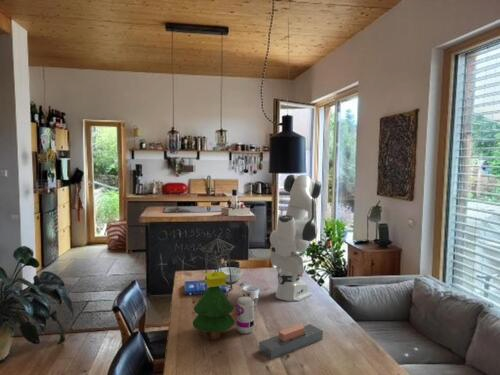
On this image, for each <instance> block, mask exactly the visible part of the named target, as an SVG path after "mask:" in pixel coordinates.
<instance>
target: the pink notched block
mask: <svg viewBox="0 0 500 375" xmlns="http://www.w3.org/2000/svg"><path fill="white" fill-rule="evenodd" d="M303 334H305V327H303V325H301V324H297V325H295V326H291V327H288V328H285V329H283V330H280V331H278V335H279V339H281V340H282V341H284V342H288V341H290V339H293V338H295V337H301V336H303Z"/></svg>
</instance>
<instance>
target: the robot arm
mask: <svg viewBox="0 0 500 375" xmlns="http://www.w3.org/2000/svg"><path fill="white" fill-rule="evenodd" d="M283 190H284V191H285V192H287V193H289V202H288V205H287V209H286V212H285V214H284V215H280V216H279V217H278V218H277V224H276V229H274V230H273V231H272V232H271V233H270V235H269V242H270V244H271V245H272V246H270V263H271V265H273V266H275V267H276V271H277V286H276V291H275V297H276V298H277V299H279V300H281V301H288V302H289V301H291V302H292V301H293V302H300V301H302V300H304V299H307V298H308V297H310V296H312V295H313V293H312V291H310V290H309V287H308V284H307V283H306V282H305V281H304V280H303V279H301V278H300V277H303V275H304V273H305V269H304V262H303V258H302V256H301V255H300V254H299V253H304V252H305V251H306V250H308V248H309V244H310V243H309V242H312V241H314V240H315V239H317V237H318V233H319V232H318V224H317V204H316V199H317V198H319V196H321V194H322V191H323V186H322V183H321V181H319V180H315V179H312V178H311V177H310V176H308V175H306V174H300V175H294V174H288V175H287V176H286V177H285V179H284V181H283ZM306 212H307V219H305V217H306Z"/></svg>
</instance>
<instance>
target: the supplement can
mask: <svg viewBox="0 0 500 375" xmlns="http://www.w3.org/2000/svg"><path fill="white" fill-rule="evenodd" d="M254 330H255V301H254V299H253V297H250V296H241V297H238V299H237V301H236V331H237V332H239V333H240V334H250V333H252V332H253V331H254Z"/></svg>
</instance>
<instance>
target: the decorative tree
mask: <svg viewBox="0 0 500 375" xmlns="http://www.w3.org/2000/svg"><path fill="white" fill-rule="evenodd" d="M204 275H205V277H206V276H207V279H206V280H205V279H204V284H205V283H206V284H207V286H208V287H207V290H206V292H205V291H204V293H203V294H202V296H201V297H200V299H199V300H198V302H197V303H196V304H195V306H193V311H194V312H195V314H197V316H196V317H195V318H194V319H193V321H192V323H191V324H192V327H194V328H195V330H198V331H200V332H203V333H205V338H207V339H209V340H215V339H219V338H221V337H222V332H224V331H227V330H229V329H230V328H231V329H232V327H233V326H235V320H234V318H233V317H232V315H231V314H230V313H231V312H233V310H234V305H233V304H232V303H231V301H230V300H229V298H228V297H227V296H226V295H225V294H224V293H225V292H222V288H220V287H222V286H223V287H224V286H228V284H227V283H226V282H224V281H225V280H226V279H227V278H228V276H227V275H226V274H225V273H224V272H223V271H222V272H217V271H216V272H215V271H213V272H207V273H206V272H205V273H204Z"/></svg>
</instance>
